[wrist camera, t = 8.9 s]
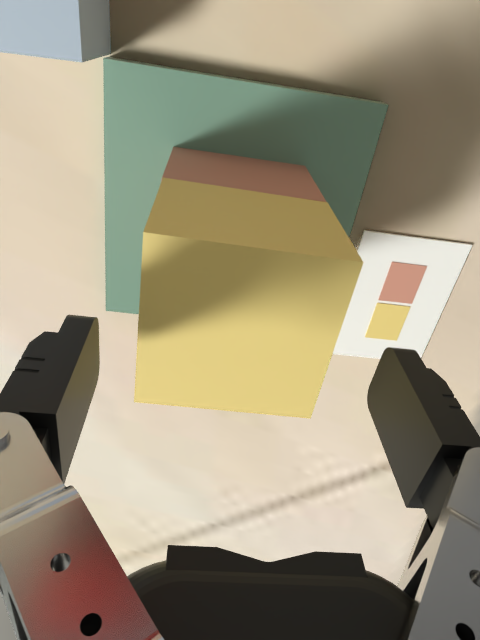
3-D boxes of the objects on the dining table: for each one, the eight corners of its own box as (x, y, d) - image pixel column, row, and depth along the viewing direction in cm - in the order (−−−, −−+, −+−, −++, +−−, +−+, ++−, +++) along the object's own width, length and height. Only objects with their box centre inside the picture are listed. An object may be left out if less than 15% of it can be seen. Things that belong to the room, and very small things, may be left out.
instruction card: (363, 229, 24) (364, 231, 24) (471, 244, 25) (473, 245, 24) (325, 352, 28) (326, 354, 28) (417, 361, 29) (419, 363, 29)
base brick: (173, 146, 20) (161, 178, 16) (305, 165, 21) (326, 201, 17) (165, 267, 24) (153, 320, 19) (279, 280, 24) (292, 335, 20)
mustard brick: (162, 177, 16) (143, 232, 12) (327, 202, 17) (363, 262, 13) (152, 319, 19) (134, 402, 15) (291, 335, 20) (310, 418, 16)
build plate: (108, 56, 19) (103, 58, 18) (381, 101, 21) (388, 105, 20) (109, 301, 26) (105, 310, 25) (317, 323, 27) (320, 332, 26)
